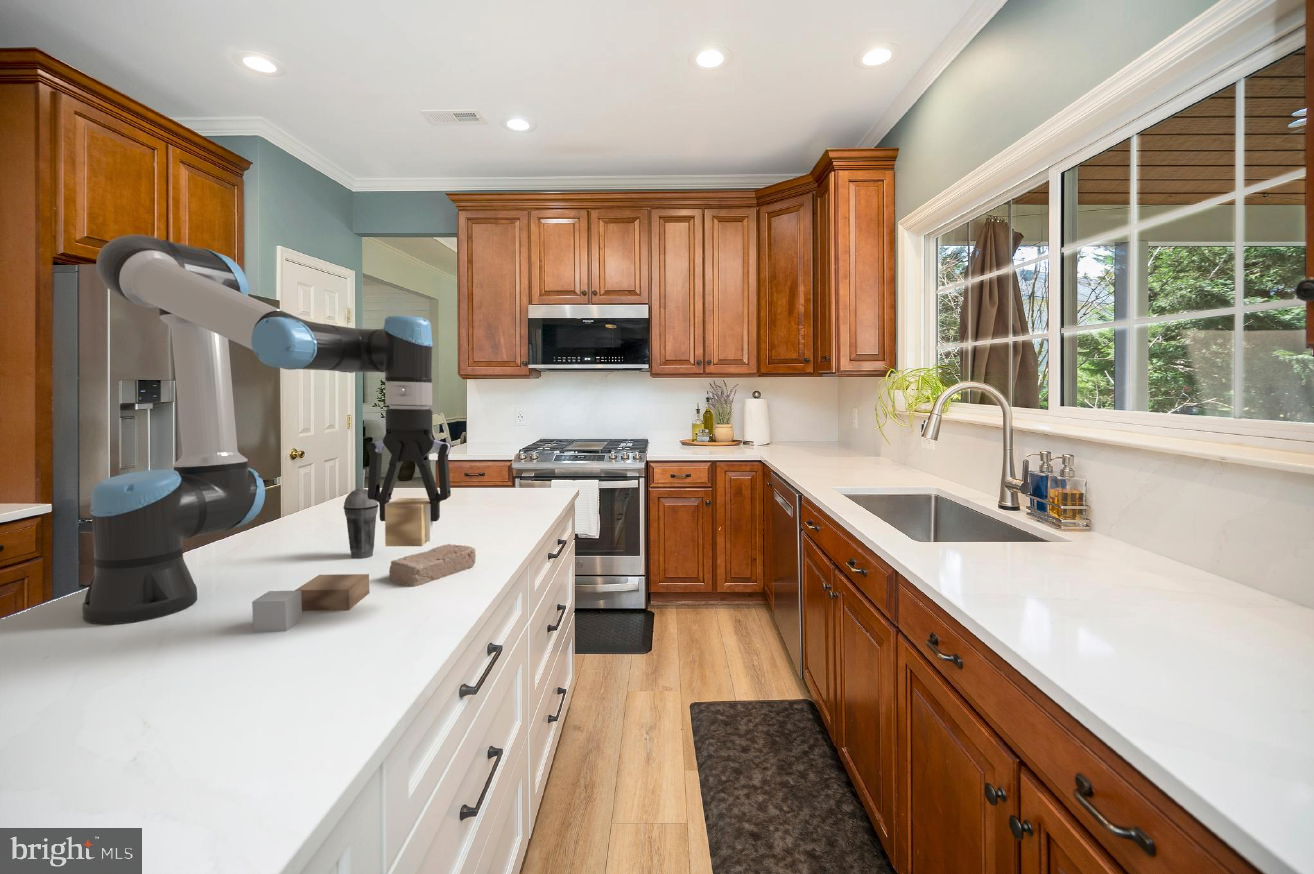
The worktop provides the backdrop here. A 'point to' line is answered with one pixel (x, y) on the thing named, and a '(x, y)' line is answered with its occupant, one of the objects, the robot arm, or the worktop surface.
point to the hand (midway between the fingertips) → (410, 539)
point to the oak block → (405, 522)
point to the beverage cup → (361, 521)
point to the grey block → (277, 611)
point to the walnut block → (334, 592)
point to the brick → (432, 564)
